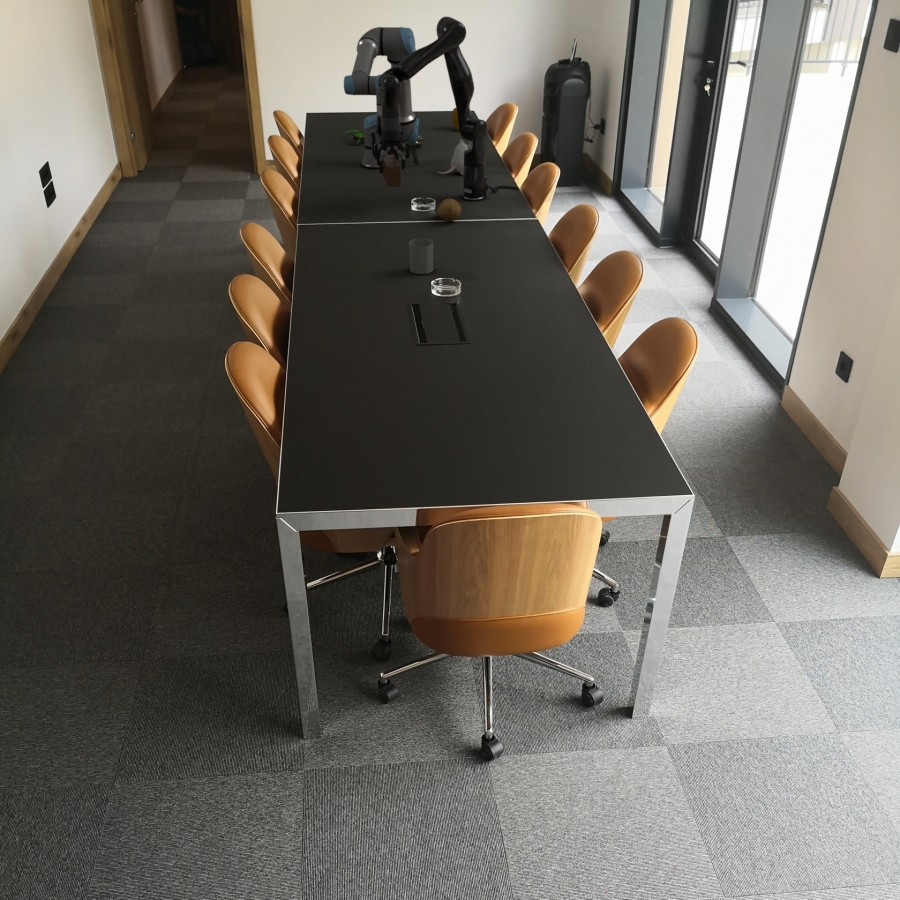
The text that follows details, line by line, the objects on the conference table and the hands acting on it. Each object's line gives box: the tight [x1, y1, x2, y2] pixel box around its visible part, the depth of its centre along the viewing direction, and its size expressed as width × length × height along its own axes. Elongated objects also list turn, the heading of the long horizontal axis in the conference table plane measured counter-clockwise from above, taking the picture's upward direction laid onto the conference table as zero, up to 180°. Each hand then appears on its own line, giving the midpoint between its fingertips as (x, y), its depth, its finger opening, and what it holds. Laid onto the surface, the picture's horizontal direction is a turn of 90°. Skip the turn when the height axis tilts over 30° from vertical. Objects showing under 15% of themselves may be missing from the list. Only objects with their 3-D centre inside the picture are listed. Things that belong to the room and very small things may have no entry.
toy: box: [437, 138, 472, 176], centre depth 408 cm, size 9×24×15 cm, turn 137°
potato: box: [437, 198, 462, 222], centre depth 353 cm, size 10×14×8 cm
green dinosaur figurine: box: [343, 129, 365, 146], centre depth 465 cm, size 6×13×30 cm
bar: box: [380, 152, 402, 188], centre depth 362 cm, size 24×5×8 cm, turn 11°
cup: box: [408, 237, 434, 275], centre depth 305 cm, size 8×8×10 cm
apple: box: [451, 107, 472, 132], centre depth 487 cm, size 11×11×13 cm
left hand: (388, 172), depth 371 cm, fingers closed on bar, 5 cm apart
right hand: (392, 169), depth 353 cm, fingers open, 8 cm apart
